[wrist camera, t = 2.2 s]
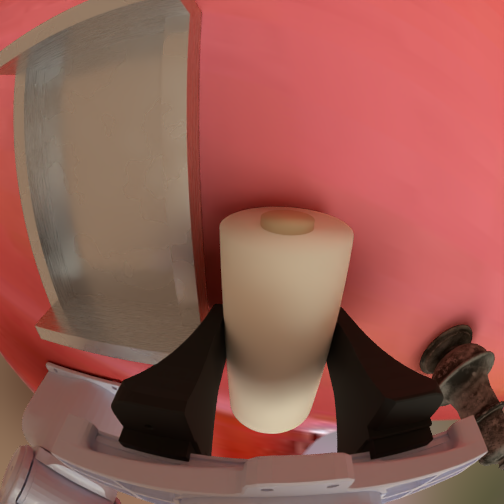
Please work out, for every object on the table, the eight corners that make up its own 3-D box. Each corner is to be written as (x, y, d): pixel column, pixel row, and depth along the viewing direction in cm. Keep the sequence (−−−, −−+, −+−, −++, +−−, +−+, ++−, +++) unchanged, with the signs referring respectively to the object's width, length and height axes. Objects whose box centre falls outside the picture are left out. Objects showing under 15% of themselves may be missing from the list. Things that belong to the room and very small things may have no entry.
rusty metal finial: (451, 371, 18) (497, 474, 7) (404, 377, 18) (446, 504, 7) (484, 320, 15) (553, 428, 4) (439, 321, 15) (514, 461, 4)
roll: (227, 375, 17) (233, 439, 12) (218, 201, 12) (220, 248, 8) (300, 368, 18) (320, 427, 13) (326, 200, 13) (380, 242, 8)
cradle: (71, 302, 16) (41, 338, 12) (39, 61, 9) (-8, 57, 5) (209, 317, 15) (195, 370, 12) (201, 12, 8) (177, -27, 5)
